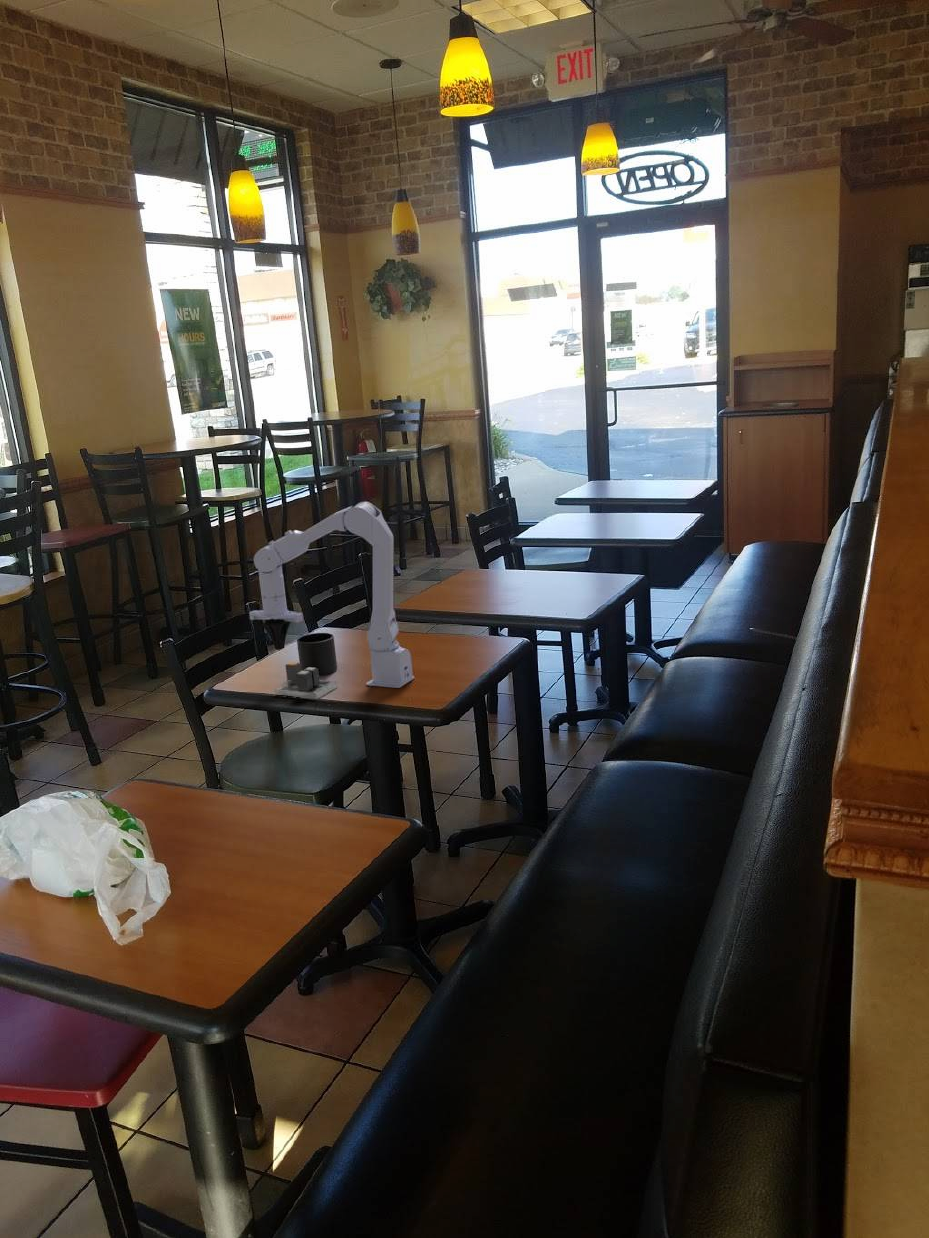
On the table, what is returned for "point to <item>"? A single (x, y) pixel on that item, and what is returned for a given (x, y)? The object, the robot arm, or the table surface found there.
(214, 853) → the table surface
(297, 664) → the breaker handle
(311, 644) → the mug
